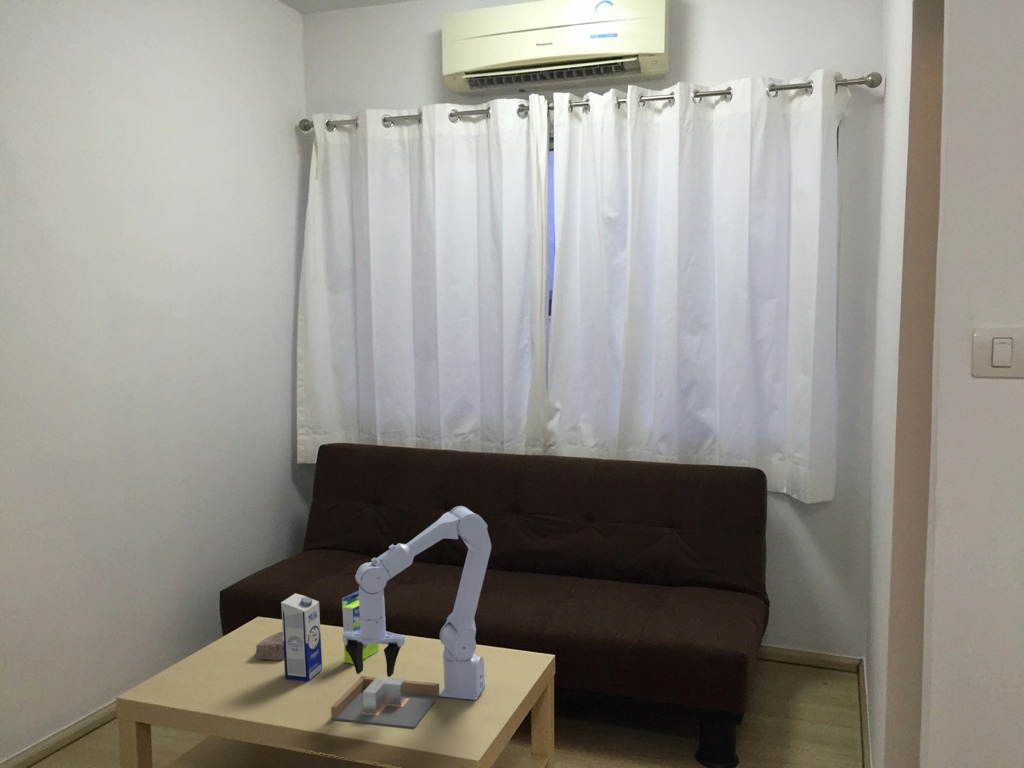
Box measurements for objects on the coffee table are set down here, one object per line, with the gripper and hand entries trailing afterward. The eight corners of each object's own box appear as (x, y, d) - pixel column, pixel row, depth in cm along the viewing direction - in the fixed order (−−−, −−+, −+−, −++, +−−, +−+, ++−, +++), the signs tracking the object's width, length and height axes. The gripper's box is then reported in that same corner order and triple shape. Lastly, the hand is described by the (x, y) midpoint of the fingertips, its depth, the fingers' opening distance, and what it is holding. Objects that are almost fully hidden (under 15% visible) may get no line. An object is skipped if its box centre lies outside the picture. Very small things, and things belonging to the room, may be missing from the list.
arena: (439, 695, 194) (439, 683, 194) (414, 728, 179) (414, 715, 179) (362, 687, 199) (361, 676, 199) (331, 719, 184) (331, 707, 184)
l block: (378, 696, 193) (377, 676, 193) (405, 699, 191) (405, 679, 191) (363, 713, 185) (362, 691, 185) (392, 716, 184) (391, 694, 183)
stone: (270, 643, 229) (269, 627, 228) (301, 644, 228) (300, 627, 228) (253, 661, 217) (252, 644, 217) (286, 662, 216) (285, 645, 216)
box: (355, 665, 212) (352, 601, 211) (342, 662, 214) (339, 598, 213) (380, 650, 221) (377, 588, 220) (368, 647, 223) (365, 586, 222)
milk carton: (299, 667, 212) (295, 592, 210) (322, 669, 210) (319, 594, 209) (284, 679, 205) (280, 601, 204) (308, 681, 204) (304, 603, 202)
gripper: (335, 620, 184) (338, 678, 186) (395, 624, 181) (397, 683, 182) (349, 609, 191) (351, 665, 192) (407, 613, 188) (409, 670, 189)
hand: (375, 673), depth 188 cm, fingers open, 7 cm apart
